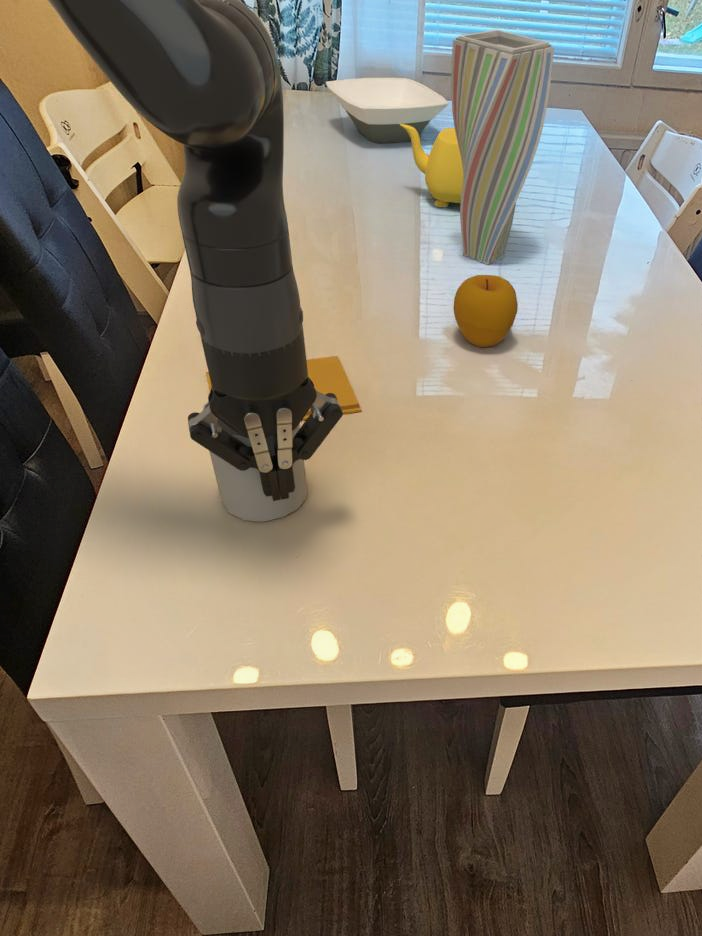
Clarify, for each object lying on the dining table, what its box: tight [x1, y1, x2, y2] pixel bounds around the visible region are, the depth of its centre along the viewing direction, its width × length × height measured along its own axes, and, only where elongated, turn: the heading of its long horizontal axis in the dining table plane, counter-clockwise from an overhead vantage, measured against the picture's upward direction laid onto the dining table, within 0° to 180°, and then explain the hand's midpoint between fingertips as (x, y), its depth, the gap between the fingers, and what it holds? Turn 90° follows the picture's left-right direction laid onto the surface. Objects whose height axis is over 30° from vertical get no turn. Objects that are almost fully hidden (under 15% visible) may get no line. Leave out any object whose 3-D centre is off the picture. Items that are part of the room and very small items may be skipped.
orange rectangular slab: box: [205, 355, 362, 421], centre depth 83 cm, size 16×12×1 cm
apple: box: [452, 274, 519, 348], centre depth 93 cm, size 8×8×9 cm
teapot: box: [400, 124, 463, 208], centre depth 128 cm, size 14×20×13 cm
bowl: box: [325, 77, 449, 144], centre depth 153 cm, size 22×23×8 cm
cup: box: [202, 400, 308, 522], centre depth 67 cm, size 8×8×10 cm
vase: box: [450, 29, 555, 266], centre depth 105 cm, size 14×14×30 cm
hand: (279, 494), depth 65 cm, fingers closed
